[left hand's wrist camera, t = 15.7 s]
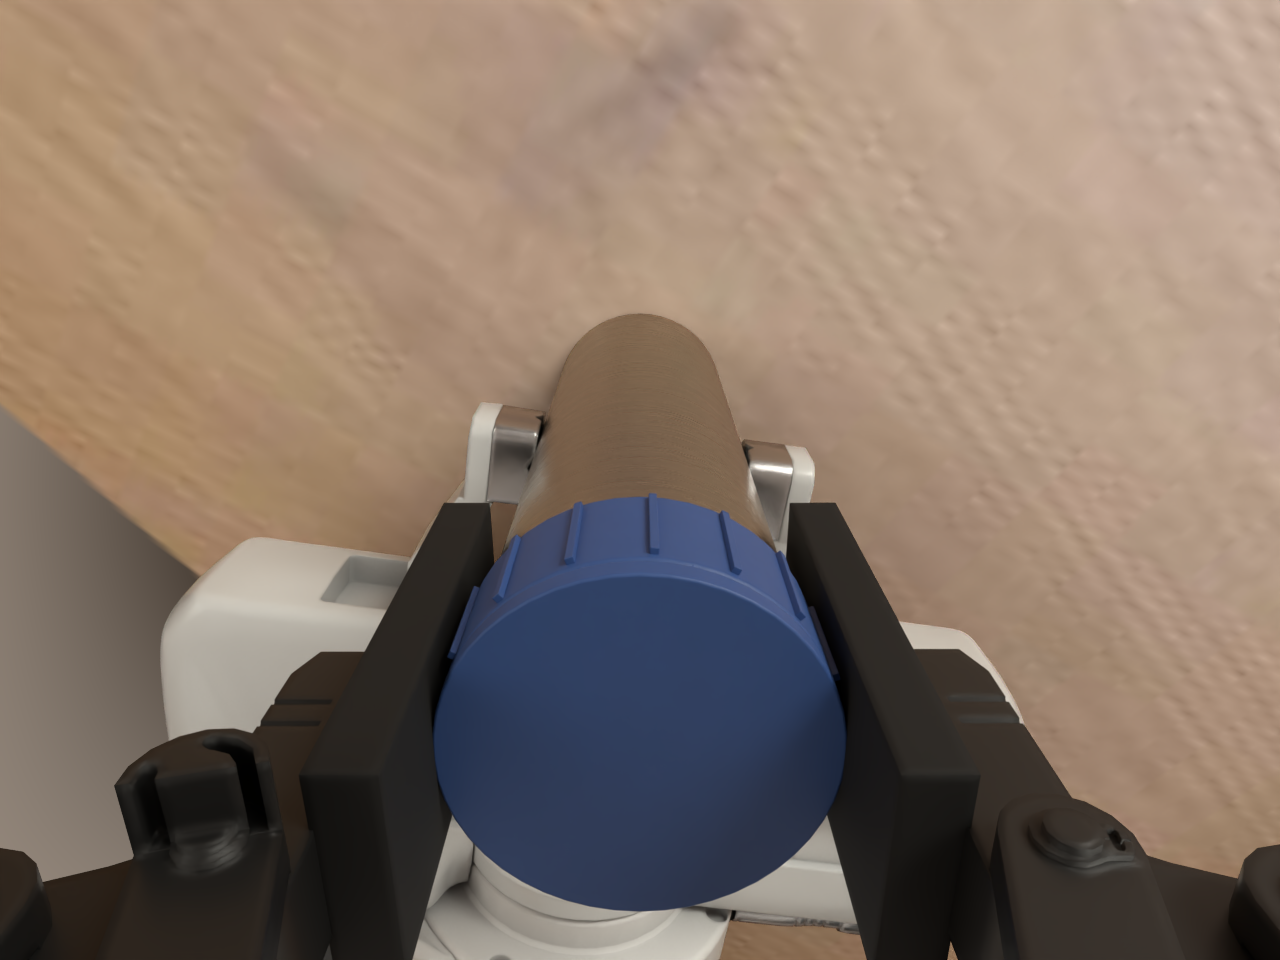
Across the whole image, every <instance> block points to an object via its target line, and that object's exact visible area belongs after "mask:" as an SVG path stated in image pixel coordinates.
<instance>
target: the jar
mask: <svg viewBox="0 0 1280 960" xmlns="http://www.w3.org/2000/svg"><path fill="white" fill-rule="evenodd" d="M649 493H654V494H657V498H666V499H671V500H677V501H682V502H688V503H691V504H694V505H697V506H701V507H704V508H707V509H710V510H713V511H715V512H717V513H719V514H720V513H721V511H722V510H723V511H725V512H728V513H729V516H730V519H732V520H734V521H736V522H737V523H739V524H740V525H742V526H744V527H745V528H747V529H748V530H750V531H752V532H753V533H754V534H755V535H757V536H758V537H759V538H760V539H761V540H763V541H764V542H765V543H766V544H767V545H769V546H770V547H771V548H772V550H773V551H774V552H775V553H777V550H776V547H775V544H774V541H773V538H772V535H771V532H770V529H769V526H768V523H767V520H766V517H765V514H764V511H763V508H762V505H761V502H760V499H759V496H758V493H757V490H756V487H755V484H754V481H753V478H752V475H751V472H750V469H749V466H748V463H747V460H746V457H745V454H744V451H743V448H742V445H741V442H740V439H739V436H738V433H737V430H736V427H735V424H734V421H733V418H732V415H731V412H730V409H729V406H728V403H727V400H726V397H725V394H724V391H723V388H722V385H721V382H720V379H719V376H718V373H717V370H716V367H715V364H714V362H713V360H712V358H711V355H710V354H709V352H708V351H707V349H706V347H705V346H704V345H703V344H702V342H701V341H700V340H699V339H698V338H697V337H696V336H695V335H694V334H693V333H692V332H690V331H689V330H688V329H686V328H685V327H683V326H682V325H680V324H678V323H676V322H674V321H672V320H669V319H666V318H664V317H660V316H655V315H649V314H630V315H624V316H619V317H616V318H613V319H610V320H607V321H605V322H603V323H601V324H599V325H598V326H596V327H595V328H593V329H592V330H590V331H589V332H588V333H587V334H586V335H584V336H583V337H582V338H581V339H580V340H579V342H578V343H577V344H576V345H575V346H574V348H573V350H572V351H571V353H570V354H569V356H568V358H567V360H566V362H565V365H564V368H563V371H562V374H561V377H560V380H559V383H558V386H557V389H556V392H555V395H554V398H553V401H552V404H551V407H550V410H549V413H548V416H547V419H546V422H545V425H544V428H543V431H542V434H541V437H540V440H539V443H538V446H537V449H536V452H535V455H534V458H533V461H532V464H531V467H530V470H529V473H528V476H527V479H526V482H525V485H524V488H523V491H522V495H521V498H520V501H519V504H518V507H517V510H516V513H515V516H514V519H513V522H512V525H511V528H510V531H509V534H508V537H507V540H506V543H505V546H504V549H503V552H502V554H503V553H504V552H505V551H506V550H507V549H508V548H509V545H510V541H511V539H512V538H513V537H514V536H515V535H518V536H519V537H520V538H521V537H522V536H523V535H524V534H525V533H527V532H528V531H530V530H531V529H533V528H534V527H536V526H538V525H539V524H541V523H542V522H544V521H546V520H547V519H549V518H552V517H554V516H556V515H558V514H560V513H562V512H565V511H567V510H569V509H572V508H573V507H574V503H577V502H580V501H581V502H582V504H583V505H585V504H588V503H592V502H597V501H603V500H608V499H614V498H626V497H648V496H649ZM501 556H502V555H501Z"/></svg>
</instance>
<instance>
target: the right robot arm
mask: <svg viewBox="0 0 1280 960" xmlns="http://www.w3.org/2000/svg"><path fill="white" fill-rule="evenodd" d="M544 424H545V412H544V411H538V410H531V409H525V408H519V407H512V406H506V405H503V404H497V403H485V402H481V403H480V405H479V407H478V408H477V410H476V412H475V413H474V415H473V419H472V423H471V427H470V432H469V437H468V448H467V461H466V473H465V479H464V480H463V481H462V483H461V484H460V485H459V486H458V488H457V489H456V490H455V492H454V493H453V494H452V496H451V497H450V498H449V499H448V501H447V502H446V503H490V506H491V505H492V503H493V502H499V503H508V504H517V505H518V504H519V501H520V498H521V495H522V491H523V488H524V485H525V482H526V479H527V476H528V473H529V470H530V467H531V464H532V461H533V458H534V455H535V452H536V449H537V446H538V443H539V440H540V437H541V434H542V431H543V428H544ZM741 445H742V448H743V451H744V454H745V457H746V460H747V463H748V466H749V469H750V472H751V475H752V478H753V481H754V484H755V487H756V490H757V493H758V496H759V499H760V502H761V505H762V508H763V511H764V514H765V517H766V520H767V523H768V526H769V529H770V532H771V535H772V538H773V541H774V544H775V547H776V550H777V552H778V551H781V552H782V553H783V554H784V555H785V558H786V548H787V534H788V520H789V505H790V503H810V500H811V495H812V491H813V487H814V478H815V466H814V462H813V460H812V459H811V457H810V455H809V453H808V451H807V449H806V448H804V447H796V446H789V445H783V444H775V443H768V442H760V441H753V440H745V439H744V440H743V442H742V443H741ZM438 513H439V512H438ZM437 515H438V514H437ZM437 515H436V516H435V518H434V519H433V520H432V521H431V523H430V524H429V525H428V527H427V529H426V531H425V533H424V535H423V536H422V538H421V540H420V542H419V544H418V546H417V547H416V549H415V551H414V553H413V555H412V557H409V556H401V555H393V554H386V553H378V552H371V551H363V550H356V549H348V548H340V547H333V546H325V545H318V544H310V543H302V542H295V541H288V540H281V539H275V538H266V537H255V538H250V539H247V540H245V541H243V542H242V543H240V544H239V545H237V546H236V547H235V548H234V549H232V550H231V551H230V552H229V553H227V554H226V555H225V556H224V557H222V558H221V559H220V560H219V561H217V562H216V563H215V564H214V565H213V566H212V567H211V568H209V569H208V570H207V571H206V572H205V573H204V574H203V575H202V576H201V577H200V578H199V579H198V580H197V581H196V582H195V583H194V584H193V585H192V586H191V588H190V589H189V590H188V591H187V592H186V593H185V594H184V595H183V596H182V598H181V599H180V600H179V601H178V603H177V604H176V606H175V607H174V608H173V610H172V611H171V613H170V615H169V617H168V619H167V621H166V623H165V625H164V629H163V631H162V637H161V649H160V663H161V680H162V691H163V701H164V711H165V718H166V726H167V733H168V739H169V741H170V740H172V739H174V738H177V737H179V736H183V735H187V734H191V733H195V732H199V731H203V730H207V729H228V728H235V729H239V730H243V731H246V732H250V733H253V732H254V730H255V729H256V727H257V726H260V724H261V719H262V718H263V716H264V715H265V713H266V712H267V710H268V709H269V707H270V706H271V705H274V702H275V700H274V699H275V698H276V696H277V695H278V693H279V692H280V690H281V689H282V687H283V686H284V684H285V682H286V681H287V679H288V678H289V676H290V675H291V673H293V672H294V671H295V670H297V669H298V668H300V667H301V666H302V665H304V664H305V663H306V662H308V661H309V660H310V659H312V658H313V657H314V656H316V655H317V654H318V653H320V652H365V650H366V648H367V646H368V644H369V642H370V640H371V639H372V637H373V635H374V633H375V631H376V629H377V627H378V625H379V624H380V622H381V620H382V618H383V616H384V614H385V612H386V611H387V609H388V607H389V605H390V603H391V601H392V599H393V597H394V596H395V594H396V592H397V590H398V588H399V586H400V584H401V582H402V581H403V579H404V577H405V575H406V573H407V571H408V569H409V568H410V566H411V564H412V562H413V560H414V558H415V556H416V554H417V553H418V551H419V549H420V547H421V545H422V543H423V541H424V540H425V538H426V536H427V534H428V532H429V530H430V528H431V526H432V525H433V523H434V521H435V519H436V517H437ZM899 623H900V625H901V626H902V628H903V630H904V632H905V634H906V636H907V638H908V640H909V641H910V643H911V645H912V647H913V649H960V650H961V651H962V652H964V653H965V654H967V655H968V656H969V657H971V658H972V659H973V660H975V661H976V662H977V663H979V664H980V665H981V666H983V667H984V668H985V669H987V670H988V671H989V672H990V674H991V675H992V677H993V678H994V680H995V681H996V683H997V684H998V686H999V687H1000V689H1001V690H1002V692H1003V694H1004V695H1005V699H1006V702H1009V703H1010V704H1011V706H1012V707H1013V709H1014V710H1015V712H1016V713H1017V715H1018V716H1019V721H1020V723H1023V724H1024V722H1023V718H1022V715H1021V713H1020V711H1019V709H1018V706H1017V704H1016V702H1015V700H1014V698H1013V696H1012V695H1011V693H1010V691H1009V689H1008V688H1007V686H1006V684H1005V682H1004V681H1003V679H1002V677H1001V676H1000V674H999V673H998V672H997V670H996V669H995V667H994V666H993V665H992V663H991V662H990V661H989V659H988V658H987V657H986V655H985V654H984V653H983V651H982V650H981V649H980V648H979V646H978V645H977V644H976V642H975V641H974V640H973V639H972V638H971V637H970V636H969V635H967V634H966V633H965V632H962V631H960V630H956V629H952V628H946V627H939V626H931V625H923V624H916V623H908V622H900V621H899ZM1024 726H1025V725H1024ZM730 920H732V921H739V922H748V923H757V924H766V925H775V926H803V925H804V926H820V927H821V926H823V927H828V928H836V929H837V930H838V931H840V932H843V933H848V934H857V935H860V933H859V929H858V925H857V922H856V918H855V914H854V911H853V907H852V904H851V900H850V896H849V893H848V889H847V885H846V882H845V878H844V875H843V871H842V867H841V864H840V860H839V856H838V853H837V849H836V846H835V842H834V838H833V835H832V831H831V827H830V824H829V820H828V817H827V816H826V818H825V819H824V821H823V822H822V824H821V825H820V826H819V828H818V829H817V831H816V832H815V833H814V835H813V836H812V837H811V839H810V840H809V841H808V842H807V843H806V844H805V845H804V846H803V847H802V848H801V849H800V850H799V851H798V852H797V853H796V854H795V855H794V856H793V857H792V858H790V859H789V860H788V861H787V862H785V863H784V864H783V865H782V866H781V867H779V868H778V869H777V870H775V871H774V872H772V873H771V874H769V875H767V876H766V877H764V878H763V879H761V880H760V881H758V882H756V883H754V884H752V885H750V886H748V887H746V888H744V889H742V890H740V891H738V892H736V893H733V894H730V895H728V896H725V897H722V898H719V899H716V900H714V901H710V902H706V903H702V904H698V905H694V906H690V907H685V908H678V909H671V910H664V911H643V912H636V911H616V910H608V909H602V908H595V907H589V906H585V905H581V904H577V903H573V902H569V901H566V900H563V899H560V898H557V897H555V896H552V895H549V894H546V893H544V892H542V891H540V890H538V889H536V888H533V887H531V886H529V885H527V884H525V883H523V882H521V881H520V880H518V879H517V878H515V877H514V876H512V875H510V874H509V873H507V872H506V871H504V870H503V869H501V868H500V867H499V866H498V865H496V864H495V863H494V862H493V861H491V860H490V859H489V858H488V857H487V856H485V855H484V854H483V853H482V852H481V851H480V850H479V849H478V848H477V847H476V845H475V844H474V843H473V842H472V841H471V840H470V839H469V838H468V837H467V835H466V834H465V833H464V831H463V830H462V829H461V827H460V826H459V824H458V823H457V822H456V820H455V819H454V817H453V815H452V818H451V822H450V826H449V829H448V833H447V837H446V840H445V844H444V847H443V851H442V855H441V858H440V862H439V866H438V869H437V873H436V876H435V880H434V884H433V887H432V891H431V894H430V898H429V902H428V905H427V909H426V913H425V916H424V920H423V923H422V927H421V931H420V934H419V938H418V942H417V945H416V949H415V952H414V956H413V960H720V956H721V952H722V948H723V944H724V940H725V936H726V933H727V929H728V925H729V922H730ZM323 960H332V955H331V950H330V944H329V946H328V948H327V951H326V953H325V956H324V959H323Z"/></svg>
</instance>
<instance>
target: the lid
mask: <svg viewBox="0 0 1280 960" xmlns="http://www.w3.org/2000/svg"><path fill="white" fill-rule="evenodd" d="M447 658H449V659H452V662H451V665H450V668H449V671H448V674H447V676H446V679H445V682H444V685H443V687H442V690H441V694H440V697H439V700H438V703H437V707H436V710H435V716H434V723H433V734H432V736H433V746H434V757H435V765H436V774H437V780H438V783H439V786H440V789H441V791H442V794H443V797H444V800H445V802H446V804H447V806H448V807H449V809H450V811H451V813H452V815H453V817H454V819H455V820H456V822H457V823H458V824H459V826H460V827H461V829H462V830H463V831H464V833H465V834H466V835H467V837H468V838H469V839H470V840H471V841H472V842H473V843H474V844H475V845H476V847H477V848H478V849H479V850H480V851H481V852H482V853H483V854H484V855H485V856H487V857H488V858H489V859H490V860H491V861H493V862H494V863H495V864H496V865H498V866H499V867H500V868H501V869H503V870H504V871H506V872H507V873H509V874H510V875H512V876H514V877H515V878H517V879H518V880H520V881H521V882H523V883H525V884H527V885H529V886H531V887H533V888H536V889H538V890H540V891H542V892H544V893H546V894H549V895H552V896H555V897H557V898H560V899H563V900H566V901H569V902H573V903H577V904H581V905H585V906H589V907H595V908H602V909H608V910H616V911H636V912H643V911H664V910H671V909H678V908H685V907H690V906H694V905H698V904H702V903H706V902H710V901H714V900H716V899H719V898H722V897H725V896H728V895H730V894H733V893H736V892H738V891H740V890H742V889H744V888H746V887H748V886H750V885H752V884H754V883H756V882H758V881H760V880H761V879H763V878H764V877H766V876H767V875H769V874H771V873H772V872H774V871H775V870H777V869H778V868H779V867H781V866H782V865H783V864H784V863H785V862H787V861H788V860H789V859H790V858H792V857H793V856H794V855H795V854H796V853H797V852H798V851H799V850H800V849H801V848H802V847H803V846H804V845H805V844H806V843H807V842H808V841H809V840H810V839H811V837H812V836H813V835H814V833H815V832H816V831H817V829H818V828H819V826H820V825H821V824H822V822H823V821H824V819H825V818H826V816H827V814H828V812H829V810H830V808H831V806H832V805H833V803H834V801H835V798H836V795H837V793H838V790H839V787H840V784H841V781H842V778H843V769H844V761H845V751H846V741H847V727H846V720H845V712H844V709H843V705H842V702H841V699H840V695H839V692H838V689H837V686H836V683H835V681H839V680H841V679H840V675H839V672H838V670H837V667H836V664H835V662H834V659H833V656H832V653H831V651H830V648H829V645H828V643H827V640H826V637H825V635H824V632H823V629H822V627H821V624H820V621H819V619H818V616H817V613H816V610H815V608H814V606H811V607H808V605H807V603H806V600H805V598H804V595H803V593H802V591H801V589H800V587H799V585H798V583H797V581H796V579H795V578H794V576H793V575H792V573H791V572H790V569H789V566H788V563H787V561H786V558H785V555H784V554H783V553H782V552H781V551H778V552H777V553H775V552H774V551H773V550H772V548H771V547H770V546H769V545H767V544H766V543H765V542H764V541H763V540H761V539H760V538H759V537H758V536H757V535H755V534H754V533H753V532H752V531H750V530H748V529H747V528H745V527H744V526H742V525H740V524H739V523H737V522H736V521H734V520H732V519H730V516H729V513H728V512H725V511H723V510H722V511H721V513H720V514H719V513H717V512H715V511H713V510H710V509H707V508H704V507H701V506H697V505H694V504H691V503H688V502H682V501H677V500H671V499H666V498H657V494H654V493H649V496H648V497H626V498H614V499H608V500H603V501H597V502H592V503H588V504H585V505H583V504H582V502H581V501H580V502H577V503H574V507H573V508H572V509H569V510H567V511H565V512H562V513H560V514H558V515H556V516H554V517H552V518H549V519H547V520H546V521H544V522H542V523H541V524H539V525H538V526H536V527H534V528H533V529H531V530H530V531H528V532H527V533H525V534H524V535H523V536H522V537H521V538H520V537H519V536H518V535H515V536H514V537H513V538H512V539H511V541H510V545H509V548H508V549H507V550H506V551H505V552H504V553H503V554H502V556H501V557H500V558H499V559H498V560H497V561H496V562H495V564H494V565H493V567H492V568H491V569H490V571H489V572H488V574H487V575H486V577H485V578H484V580H483V582H482V584H481V586H480V588H478V587H476V586H474V587H473V589H472V591H471V594H470V596H469V599H468V602H467V604H466V607H465V610H464V612H463V615H462V618H461V621H460V623H459V626H458V629H457V631H456V634H455V637H454V639H453V642H452V645H451V647H450V650H449V653H448V655H447Z"/></svg>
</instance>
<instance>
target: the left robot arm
mask: <svg viewBox="0 0 1280 960" xmlns="http://www.w3.org/2000/svg"><path fill="white" fill-rule="evenodd" d="M786 561H787V563H788V566H789V569H790V572H791V573H792V575H793V576H794V578H795V579H796V581H797V583H798V585H799V587H800V589H801V591H802V593H803V595H804V598H805V600H806V603H807V605H808V607H811V606H814V608H815V610H816V613H817V616H818V619H819V621H820V624H821V627H822V629H823V632H824V635H825V637H826V640H827V643H828V645H829V648H830V651H831V653H832V656H833V659H834V662H835V664H836V667H837V670H838V672H839V675H840V679H841V680H839V681H835V683H836V686H837V689H838V692H839V695H840V699H841V702H842V705H843V709H844V712H845V720H846V727H847V741H846V751H845V761H844V769H843V778H842V781H841V784H840V787H839V790H838V793H837V795H836V798H835V801H834V803H833V805H832V806H831V808H830V810H829V812H828V814H827V817H828V820H829V824H830V827H831V831H832V835H833V838H834V842H835V846H836V849H837V853H838V856H839V860H840V864H841V867H842V871H843V875H844V878H845V882H846V885H847V889H848V893H849V896H850V900H851V904H852V907H853V911H854V914H855V918H856V922H857V925H858V929H859V933H860V936H861V940H862V943H863V947H864V951H865V954H866V958H867V960H947V958H948V952H949V947H950V942H951V943H952V945H953V948H954V951H955V953H956V956H957V958H958V960H1280V845H1274V846H1268V847H1261V848H1257V849H1256V850H1255V851H1254V852H1252V853H1251V854H1250V855H1249V856H1248V857H1247V858H1246V859H1244V862H1243V865H1242V868H1241V871H1240V874H1239V877H1238V879H1237V878H1233V877H1228V876H1224V875H1220V874H1216V873H1211V872H1207V871H1203V870H1199V869H1194V868H1190V867H1186V866H1182V865H1177V864H1173V863H1170V862H1166V861H1163V860H1160V859H1157V858H1153V857H1150V856H1147V855H1146V853H1145V852H1144V850H1143V848H1142V847H1141V845H1140V844H1139V842H1138V841H1137V839H1136V837H1135V836H1134V834H1133V833H1132V832H1130V831H1129V830H1128V829H1127V828H1126V827H1125V826H1123V825H1122V824H1121V823H1120V822H1119V821H1117V820H1116V819H1115V818H1114V817H1113V816H1111V815H1110V814H1108V813H1106V812H1104V811H1102V810H1100V809H1098V808H1096V807H1094V806H1092V805H1090V804H1088V803H1087V802H1084V801H1080V800H1077V799H1073V798H1072V797H1071V796H1070V794H1069V793H1068V791H1067V790H1066V788H1065V787H1064V785H1063V784H1062V782H1061V781H1060V779H1059V778H1058V776H1057V775H1056V773H1055V771H1054V770H1053V768H1052V767H1051V765H1050V764H1049V762H1048V761H1047V759H1046V758H1045V756H1044V755H1043V753H1042V752H1041V750H1040V749H1039V747H1038V746H1037V744H1036V742H1035V741H1034V739H1033V738H1032V736H1031V735H1030V733H1029V732H1028V730H1027V729H1026V727H1025V726H1024V724H1023V723H1020V721H1019V716H1018V715H1017V713H1016V712H1015V710H1014V709H1013V707H1012V706H1011V704H1010V703H1009V702H1006V699H1005V695H1004V694H1003V692H1002V690H1001V689H1000V687H999V686H998V684H997V683H996V681H995V680H994V678H993V677H992V675H991V674H990V672H989V671H988V670H987V669H985V668H984V667H983V666H981V665H980V664H979V663H977V662H976V661H975V660H973V659H972V658H971V657H969V656H968V655H967V654H965V653H964V652H962V651H961V650H960V649H913V647H912V645H911V643H910V641H909V640H908V638H907V636H906V634H905V632H904V630H903V628H902V626H901V625H900V623H899V621H898V619H897V617H896V615H895V613H894V612H893V610H892V608H891V606H890V604H889V602H888V600H887V598H886V597H885V595H884V593H883V591H882V589H881V587H880V585H879V583H878V582H877V580H876V578H875V576H874V574H873V572H872V570H871V569H870V567H869V565H868V563H867V561H866V559H865V557H864V555H863V554H862V552H861V550H860V548H859V546H858V544H857V542H856V540H855V539H854V537H853V535H852V533H851V531H850V529H849V527H848V526H847V524H846V522H845V520H844V518H843V516H842V514H841V512H840V511H839V509H838V507H837V505H836V503H790V505H789V520H788V534H787V548H786ZM493 565H494V555H493V541H492V527H491V513H490V503H444V504H443V506H442V508H441V510H440V511H439V513H438V515H437V517H436V519H435V521H434V523H433V525H432V526H431V528H430V530H429V532H428V534H427V536H426V538H425V540H424V541H423V543H422V545H421V547H420V549H419V551H418V553H417V554H416V556H415V558H414V560H413V562H412V564H411V566H410V568H409V569H408V571H407V573H406V575H405V577H404V579H403V581H402V582H401V584H400V586H399V588H398V590H397V592H396V594H395V596H394V597H393V599H392V601H391V603H390V605H389V607H388V609H387V611H386V612H385V614H384V616H383V618H382V620H381V622H380V624H379V625H378V627H377V629H376V631H375V633H374V635H373V637H372V639H371V640H370V642H369V644H368V646H367V648H366V650H365V652H320V653H318V654H317V655H316V656H314V657H313V658H312V659H310V660H309V661H308V662H306V663H305V664H304V665H302V666H301V667H300V668H298V669H297V670H295V671H294V672H293V673H291V675H290V676H289V678H288V679H287V681H286V682H285V684H284V686H283V687H282V689H281V690H280V692H279V693H278V695H277V696H276V698H275V699H274V700H275V702H274V705H271V706H270V707H269V709H268V710H267V712H266V713H265V715H264V716H263V718H262V719H261V724H260V726H257V727H256V729H255V730H254V732H253V733H250V732H246V731H243V730H239V729H235V728H228V729H207V730H203V731H199V732H195V733H191V734H187V735H183V736H179V737H177V738H174V739H172V740H170V741H168V742H166V743H164V744H161V745H159V746H157V747H155V748H153V749H151V750H150V751H148V752H147V753H146V754H144V755H143V756H142V757H140V758H139V759H138V760H136V761H135V762H134V763H132V764H131V765H130V766H128V768H127V769H126V770H125V772H124V773H123V774H122V776H121V777H120V779H119V780H118V781H117V783H116V784H115V785H114V786H115V790H116V793H117V797H118V801H119V804H120V808H121V811H122V815H123V818H124V822H125V825H126V829H127V833H128V836H129V840H130V843H131V847H132V850H133V854H134V857H133V859H131V860H128V861H125V862H122V863H118V864H115V865H112V866H109V867H105V868H100V869H96V870H92V871H88V872H84V873H80V874H75V875H71V876H67V877H62V878H58V879H54V880H50V881H46V882H42V879H41V876H40V873H39V870H38V867H37V864H36V863H35V862H34V861H33V860H32V859H31V858H30V857H28V856H27V855H26V854H25V853H24V852H21V851H15V850H9V849H3V848H0V960H323V959H324V956H325V953H326V951H327V948H328V946H329V944H330V950H331V955H332V960H413V956H414V952H415V949H416V945H417V942H418V938H419V934H420V931H421V927H422V923H423V920H424V916H425V913H426V909H427V905H428V902H429V898H430V894H431V891H432V887H433V884H434V880H435V876H436V873H437V869H438V866H439V862H440V858H441V855H442V851H443V847H444V844H445V840H446V837H447V833H448V829H449V826H450V822H451V818H452V813H451V811H450V809H449V807H448V806H447V804H446V802H445V800H444V797H443V794H442V791H441V789H440V786H439V783H438V780H437V774H436V765H435V757H434V746H433V736H432V734H433V723H434V716H435V710H436V707H437V703H438V700H439V697H440V694H441V690H442V687H443V685H444V682H445V679H446V676H447V674H448V671H449V668H450V665H451V662H452V659H449V658H447V655H448V653H449V650H450V647H451V645H452V642H453V639H454V637H455V634H456V631H457V629H458V626H459V623H460V621H461V618H462V615H463V612H464V610H465V607H466V604H467V602H468V599H469V596H470V594H471V591H472V589H473V587H474V586H476V587H478V588H480V586H481V584H482V582H483V580H484V578H485V577H486V575H487V574H488V572H489V571H490V569H491V568H492V567H493Z"/></svg>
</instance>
